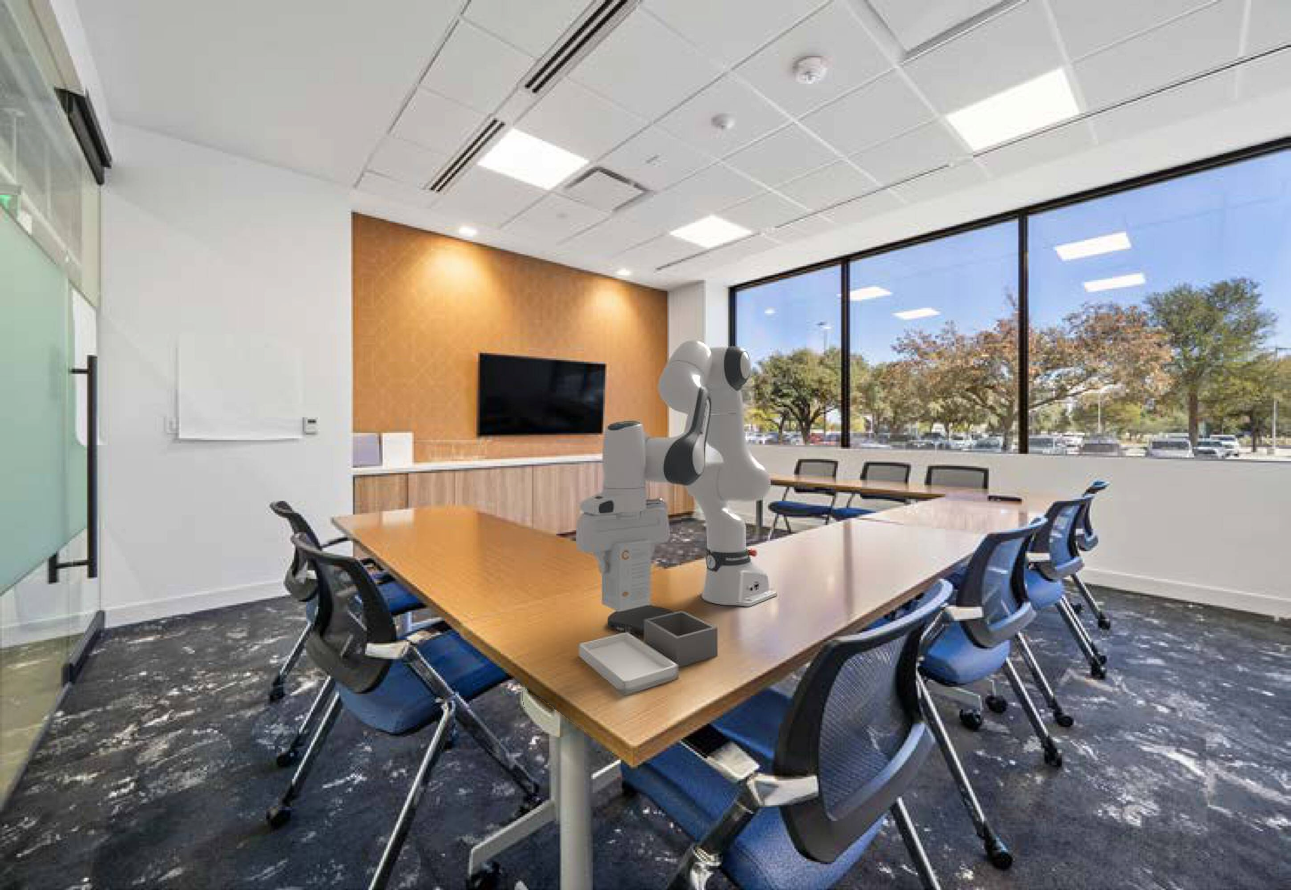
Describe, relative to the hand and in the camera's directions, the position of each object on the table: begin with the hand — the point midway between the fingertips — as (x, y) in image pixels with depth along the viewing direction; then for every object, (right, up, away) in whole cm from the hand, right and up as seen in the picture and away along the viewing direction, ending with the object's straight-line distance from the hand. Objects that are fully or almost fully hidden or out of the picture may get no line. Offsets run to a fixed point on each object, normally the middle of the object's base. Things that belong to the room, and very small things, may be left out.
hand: (625, 569), depth 103 cm
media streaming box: (+3, -20, +24) cm, 31 cm away
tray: (0, -20, 0) cm, 20 cm away
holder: (+12, -20, +8) cm, 24 cm away
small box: (0, -7, 0) cm, 7 cm away
